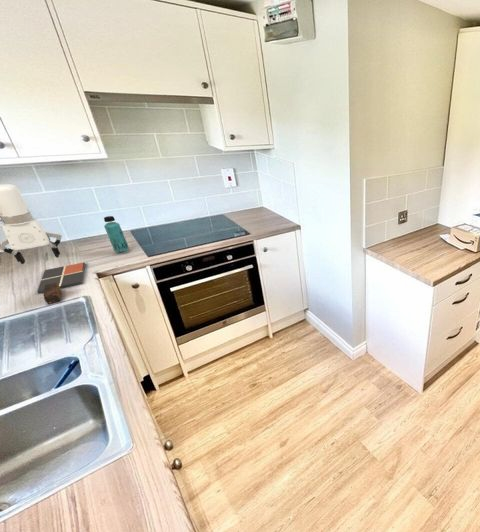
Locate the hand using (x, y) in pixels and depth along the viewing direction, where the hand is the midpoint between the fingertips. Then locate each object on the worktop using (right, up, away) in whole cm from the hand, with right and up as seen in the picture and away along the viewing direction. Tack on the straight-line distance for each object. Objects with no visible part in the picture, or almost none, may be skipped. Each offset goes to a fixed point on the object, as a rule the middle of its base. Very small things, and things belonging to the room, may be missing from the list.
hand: (41, 259), depth 127 cm
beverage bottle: (-7, +5, +46) cm, 47 cm away
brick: (-1, -16, +6) cm, 17 cm away
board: (-13, -8, +21) cm, 25 cm away
